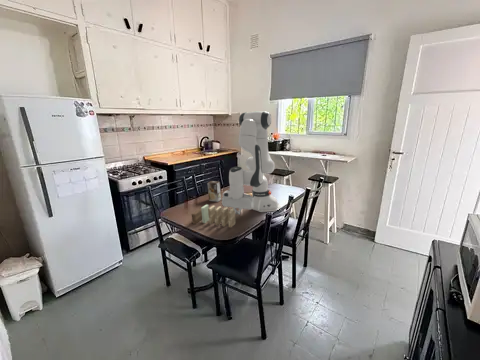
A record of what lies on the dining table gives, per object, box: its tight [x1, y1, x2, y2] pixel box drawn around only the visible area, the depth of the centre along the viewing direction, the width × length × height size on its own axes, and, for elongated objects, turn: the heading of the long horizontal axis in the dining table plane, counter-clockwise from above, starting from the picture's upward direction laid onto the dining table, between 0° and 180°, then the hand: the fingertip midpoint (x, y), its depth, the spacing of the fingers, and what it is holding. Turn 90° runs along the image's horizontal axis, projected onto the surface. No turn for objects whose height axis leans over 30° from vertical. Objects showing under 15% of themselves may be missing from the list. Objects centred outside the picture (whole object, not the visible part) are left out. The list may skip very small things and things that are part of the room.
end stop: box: [191, 206, 203, 225], centre depth 160 cm, size 3×12×7 cm, turn 157°
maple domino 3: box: [221, 206, 229, 228], centre depth 151 cm, size 2×6×11 cm, turn 157°
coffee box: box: [207, 180, 222, 203], centre depth 196 cm, size 9×6×16 cm
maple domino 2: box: [214, 205, 223, 226], centre depth 153 cm, size 2×6×11 cm, turn 157°
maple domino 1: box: [208, 204, 216, 225], centre depth 155 cm, size 2×6×11 cm, turn 157°
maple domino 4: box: [228, 207, 236, 229], centre depth 149 cm, size 2×6×11 cm, turn 157°
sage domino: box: [200, 204, 210, 224], centre depth 157 cm, size 2×6×11 cm, turn 157°
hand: (237, 214), depth 147 cm, fingers closed
